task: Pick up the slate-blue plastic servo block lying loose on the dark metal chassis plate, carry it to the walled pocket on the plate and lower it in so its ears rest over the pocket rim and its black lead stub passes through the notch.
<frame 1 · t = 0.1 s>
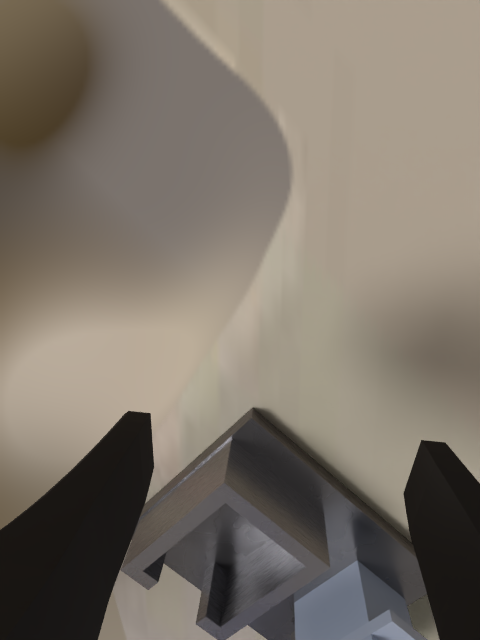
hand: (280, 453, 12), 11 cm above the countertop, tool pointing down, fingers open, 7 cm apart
servo: (348, 600, 27), point 1 cm above the countertop, touching chassis
chassis: (281, 543, 27), on the countertop
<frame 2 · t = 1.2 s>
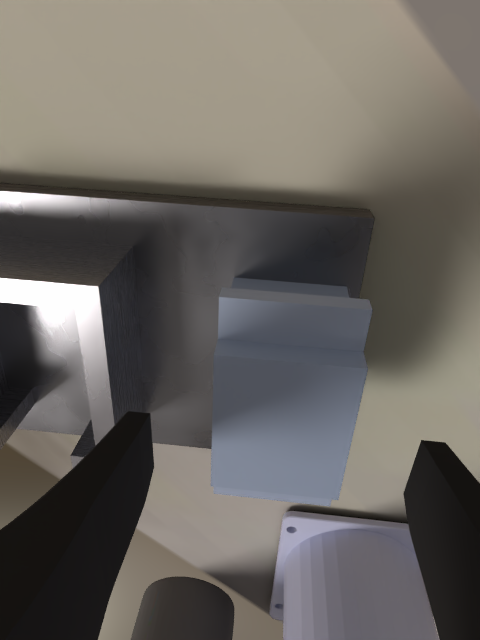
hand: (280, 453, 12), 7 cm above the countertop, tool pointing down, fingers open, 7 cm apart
bottle: (189, 599, 29), on the countertop
servo: (283, 341, 17), point 1 cm above the countertop, touching chassis
chassis: (161, 328, 19), on the countertop
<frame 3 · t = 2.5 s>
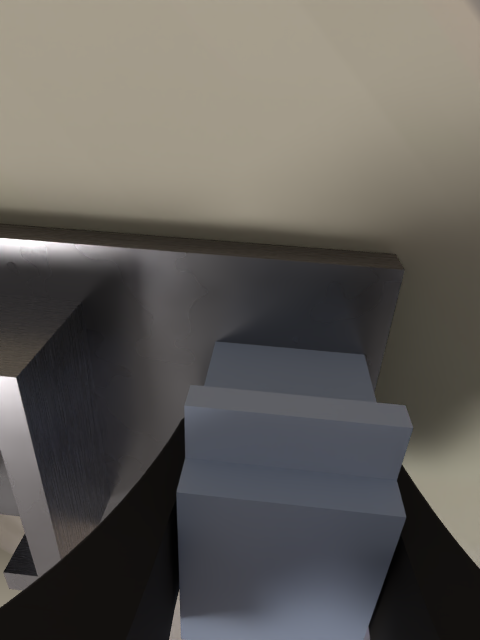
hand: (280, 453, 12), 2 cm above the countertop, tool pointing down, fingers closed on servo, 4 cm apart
servo: (280, 418, 13), point 1 cm above the countertop, touching chassis, gripper
chassis: (127, 394, 15), on the countertop
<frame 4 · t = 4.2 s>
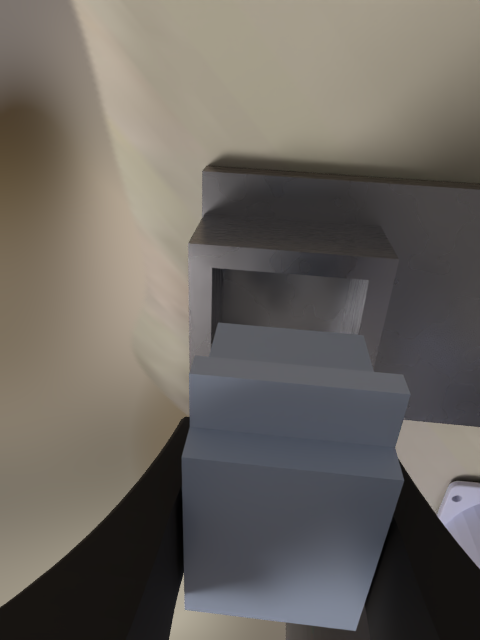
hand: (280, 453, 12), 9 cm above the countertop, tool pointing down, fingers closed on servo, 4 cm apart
bottle: (330, 570, 30), on the countertop
servo: (281, 399, 14), point 8 cm above the countertop, touching gripper
chassis: (372, 305, 20), on the countertop
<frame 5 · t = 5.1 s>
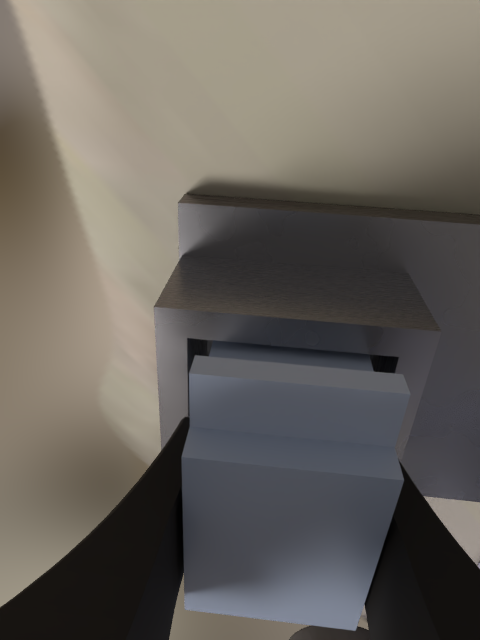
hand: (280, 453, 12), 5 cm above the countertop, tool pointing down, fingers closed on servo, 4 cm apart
servo: (281, 399, 14), point 3 cm above the countertop, touching gripper
chassis: (393, 363, 16), on the countertop
when the fingers open (5 cm above the countertop, at t = 5.8 s): servo drops 2 cm, resting on chassis.
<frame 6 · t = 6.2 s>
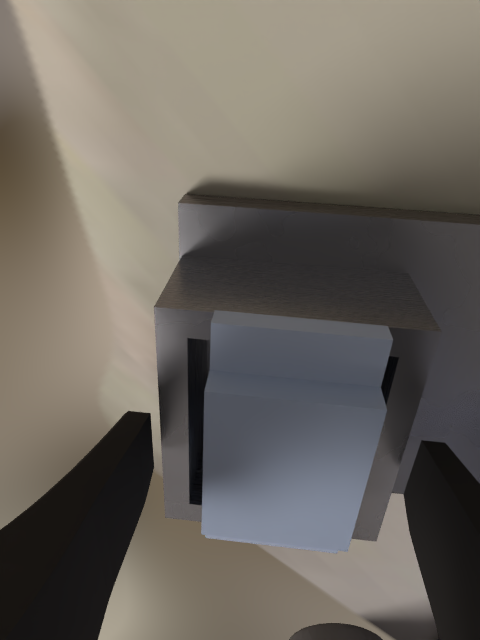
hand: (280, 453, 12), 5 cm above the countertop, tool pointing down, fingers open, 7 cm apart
servo: (284, 363, 16), point 1 cm above the countertop, touching chassis
chassis: (393, 363, 16), on the countertop
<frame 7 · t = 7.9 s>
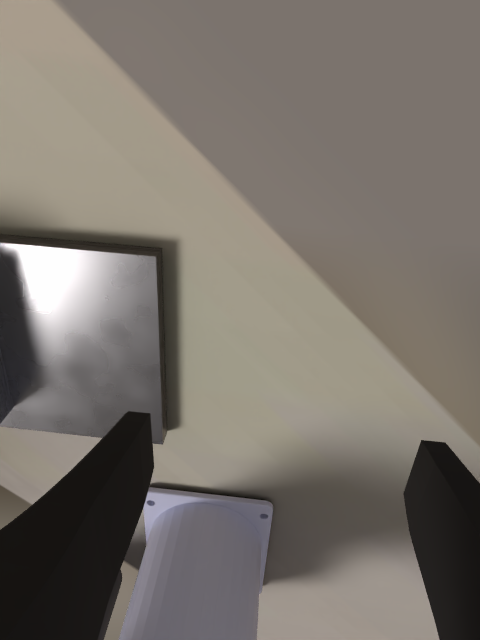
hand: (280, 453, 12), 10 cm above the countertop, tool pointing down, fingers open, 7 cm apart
bottle: (85, 566, 34), on the countertop
chassis: (21, 336, 23), on the countertop
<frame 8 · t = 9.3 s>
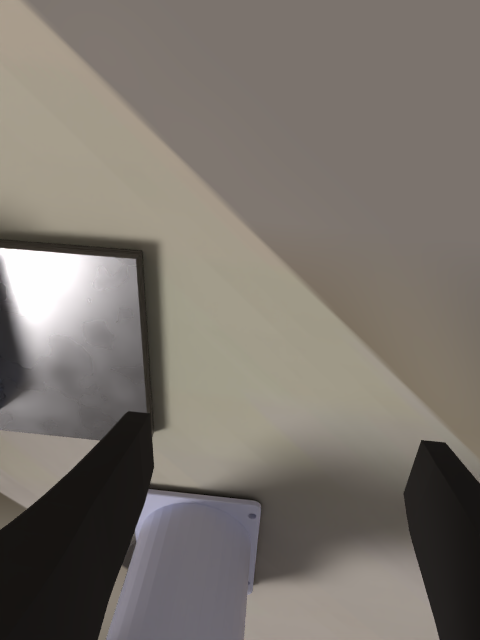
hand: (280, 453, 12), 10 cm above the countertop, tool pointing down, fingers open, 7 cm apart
chassis: (6, 339, 24), on the countertop
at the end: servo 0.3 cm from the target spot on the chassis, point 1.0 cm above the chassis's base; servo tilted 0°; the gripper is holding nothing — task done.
